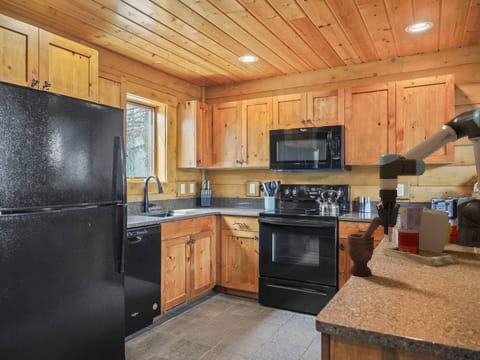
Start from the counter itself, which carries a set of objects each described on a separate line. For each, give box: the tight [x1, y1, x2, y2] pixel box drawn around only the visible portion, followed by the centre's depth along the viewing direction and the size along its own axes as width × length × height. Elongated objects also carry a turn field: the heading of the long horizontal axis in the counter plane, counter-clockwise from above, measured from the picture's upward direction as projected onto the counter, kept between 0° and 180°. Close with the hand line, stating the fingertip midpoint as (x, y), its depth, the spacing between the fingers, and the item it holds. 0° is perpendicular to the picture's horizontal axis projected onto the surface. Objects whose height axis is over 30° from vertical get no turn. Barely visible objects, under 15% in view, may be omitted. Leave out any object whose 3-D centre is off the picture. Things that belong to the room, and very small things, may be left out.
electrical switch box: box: [419, 206, 459, 253], centre depth 155 cm, size 15×15×20 cm
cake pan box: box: [399, 206, 428, 230], centre depth 187 cm, size 19×5×18 cm, turn 122°
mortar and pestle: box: [347, 216, 382, 277], centre depth 118 cm, size 12×9×20 cm
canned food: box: [397, 228, 420, 256], centre depth 146 cm, size 8×8×11 cm
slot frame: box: [382, 246, 458, 267], centre depth 142 cm, size 15×22×3 cm
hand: (388, 241), depth 156 cm, fingers closed
